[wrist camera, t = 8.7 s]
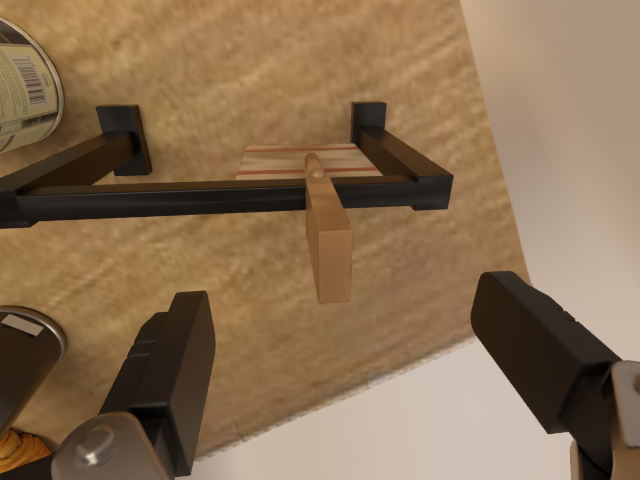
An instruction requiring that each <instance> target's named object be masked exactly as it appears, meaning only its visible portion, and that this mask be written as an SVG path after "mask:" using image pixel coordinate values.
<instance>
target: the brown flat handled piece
mask: <svg viewBox="0 0 640 480" xmlns="http://www.w3.org/2000/svg"><path fill="white" fill-rule="evenodd" d="M356 176H383V175H382V174H381V173H380V172H379V170H378V169H377V168H376V167H375V166H374V165H373V164H372V163H371V162H370V161H369V159H368V158H367V157H366V156H365V155H364V154H363V153H362V152H361V151H360V149H359V148H358V147H357V146H356V145H355V144H315V145H272V146H247V147H246V150H245V153H244V156H243V159H242V162H241V165H240V167H239V170H238V173H237V176H236V179H235V180H265V179H296V178H305V190H306V234H307V239H308V245H309V251H310V257H311V263H312V269H313V275H314V280H315V286H316V292H317V298H318V303H319V304H323V303H338V302H349V301H350V291H351V271H352V251H353V229H352V226H351V224H350V222H349V220H348V217H347V215H346V213H345V211H344V208H343V206H342V204H341V202H340V200H339V197H338V195H337V193H336V191H335V188H334V186H333V184H332V182H331V179H330V177H356Z"/></svg>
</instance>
